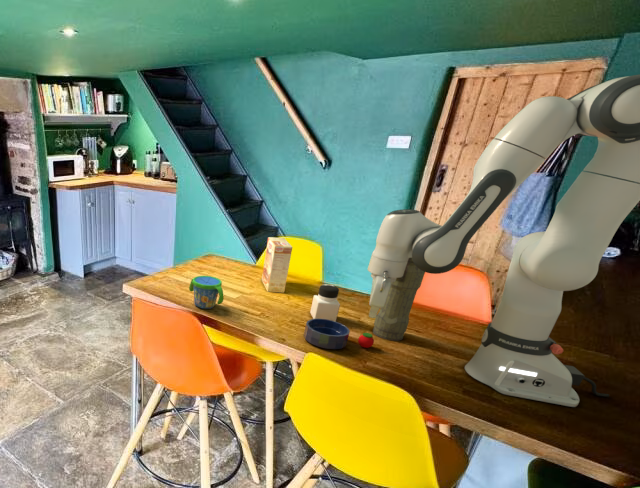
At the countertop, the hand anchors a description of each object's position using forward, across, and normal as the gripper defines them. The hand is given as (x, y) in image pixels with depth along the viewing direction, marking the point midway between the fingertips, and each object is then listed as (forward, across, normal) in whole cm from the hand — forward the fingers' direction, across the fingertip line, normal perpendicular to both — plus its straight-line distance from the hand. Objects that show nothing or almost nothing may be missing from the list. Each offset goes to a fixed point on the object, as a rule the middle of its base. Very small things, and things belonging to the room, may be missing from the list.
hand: (372, 311), depth 119 cm
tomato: (+12, 0, -1) cm, 12 cm away
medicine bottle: (+12, +16, +13) cm, 24 cm away
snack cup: (+13, +2, +52) cm, 54 cm away
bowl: (+12, -3, +10) cm, 16 cm away
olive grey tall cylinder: (+12, +14, -7) cm, 20 cm away
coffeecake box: (+13, +39, +36) cm, 55 cm away
